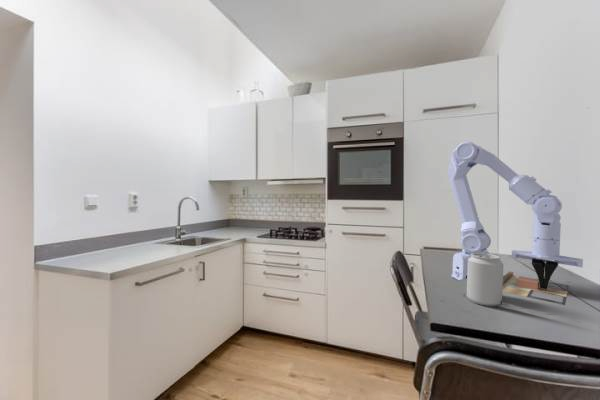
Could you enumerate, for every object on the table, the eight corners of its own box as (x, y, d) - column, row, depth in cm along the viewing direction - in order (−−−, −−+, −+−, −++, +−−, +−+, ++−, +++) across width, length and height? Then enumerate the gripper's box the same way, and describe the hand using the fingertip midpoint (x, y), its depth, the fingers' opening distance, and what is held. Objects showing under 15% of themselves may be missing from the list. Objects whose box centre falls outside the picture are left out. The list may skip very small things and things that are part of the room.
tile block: (516, 286, 79) (517, 279, 79) (519, 283, 82) (519, 276, 82) (537, 290, 76) (537, 283, 75) (539, 286, 79) (539, 279, 79)
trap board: (493, 294, 75) (493, 285, 75) (509, 279, 91) (509, 271, 91) (564, 311, 65) (564, 300, 65) (568, 290, 81) (568, 281, 81)
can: (495, 298, 73) (497, 253, 72) (506, 309, 65) (508, 259, 65) (463, 294, 75) (464, 250, 75) (470, 304, 68) (472, 256, 68)
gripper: (510, 236, 78) (508, 284, 79) (583, 244, 68) (581, 298, 68) (514, 234, 83) (513, 279, 84) (583, 241, 73) (581, 292, 73)
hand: (543, 287), depth 76 cm, fingers closed
